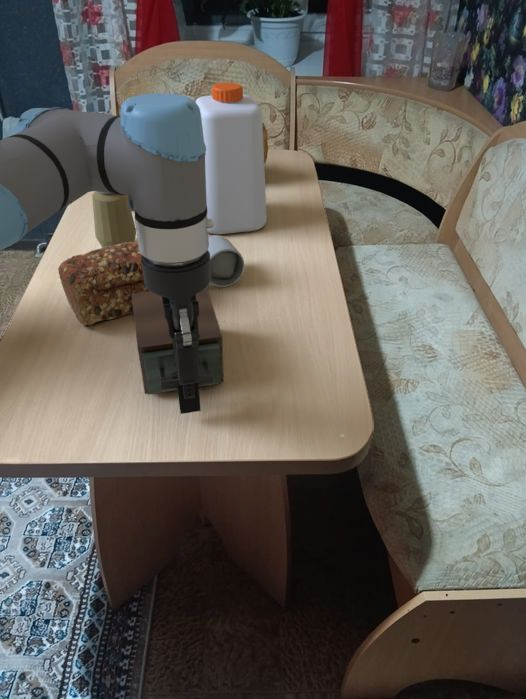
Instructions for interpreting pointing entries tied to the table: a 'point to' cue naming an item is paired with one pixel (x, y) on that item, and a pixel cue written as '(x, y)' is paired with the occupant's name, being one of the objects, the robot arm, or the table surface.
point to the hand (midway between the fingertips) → (190, 409)
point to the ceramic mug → (224, 262)
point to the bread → (103, 282)
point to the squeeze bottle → (112, 219)
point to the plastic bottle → (233, 160)
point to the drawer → (162, 366)
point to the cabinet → (155, 326)
